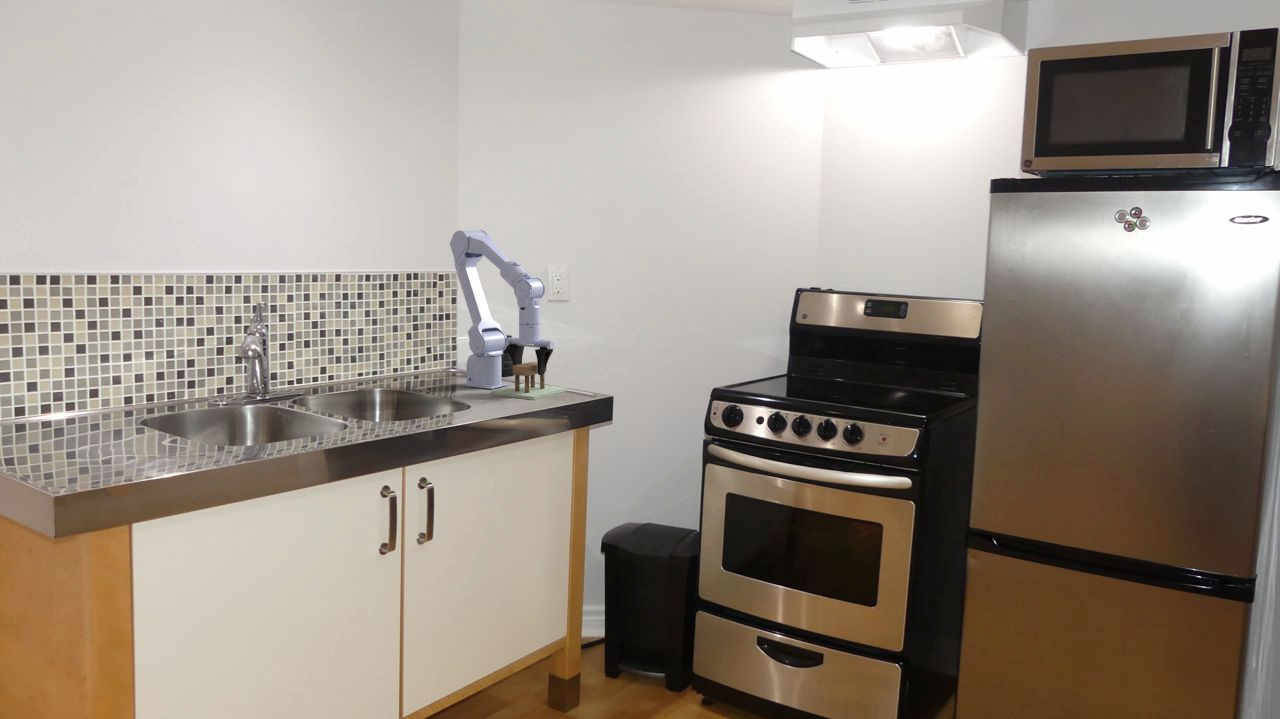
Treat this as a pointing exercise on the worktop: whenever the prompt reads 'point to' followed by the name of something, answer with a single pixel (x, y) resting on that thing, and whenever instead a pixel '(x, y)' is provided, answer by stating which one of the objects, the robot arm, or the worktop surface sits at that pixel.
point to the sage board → (533, 392)
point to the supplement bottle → (506, 362)
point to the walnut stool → (527, 375)
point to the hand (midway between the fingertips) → (529, 373)
